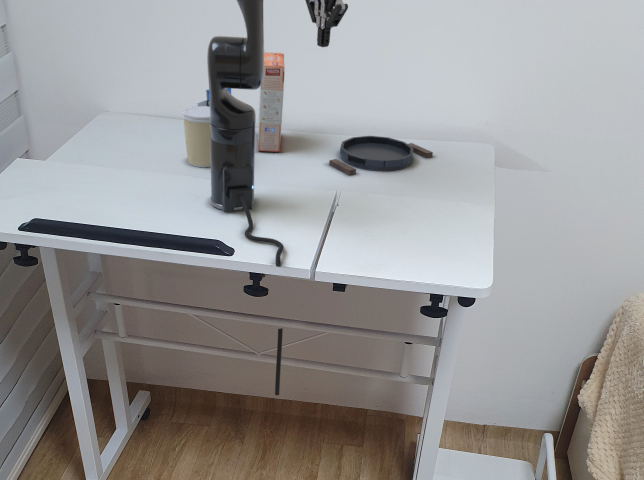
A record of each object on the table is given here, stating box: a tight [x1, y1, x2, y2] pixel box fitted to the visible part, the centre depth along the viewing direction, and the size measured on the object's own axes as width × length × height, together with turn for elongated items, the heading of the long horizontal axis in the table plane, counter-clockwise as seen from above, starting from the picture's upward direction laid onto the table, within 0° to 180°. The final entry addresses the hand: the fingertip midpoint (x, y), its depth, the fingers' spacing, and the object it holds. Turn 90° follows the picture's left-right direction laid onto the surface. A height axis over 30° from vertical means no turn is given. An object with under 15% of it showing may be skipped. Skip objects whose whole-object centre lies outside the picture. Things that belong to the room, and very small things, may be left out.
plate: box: [339, 135, 414, 172], centre depth 181 cm, size 18×18×3 cm
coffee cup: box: [182, 105, 211, 168], centre depth 173 cm, size 9×9×12 cm
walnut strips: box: [328, 142, 434, 176], centre depth 180 cm, size 8×27×1 cm, turn 123°
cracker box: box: [257, 51, 286, 153], centre depth 182 cm, size 14×6×21 cm, turn 179°
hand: (322, 46), depth 161 cm, fingers closed
